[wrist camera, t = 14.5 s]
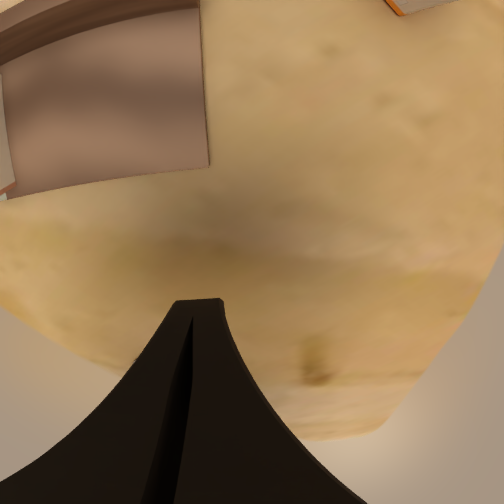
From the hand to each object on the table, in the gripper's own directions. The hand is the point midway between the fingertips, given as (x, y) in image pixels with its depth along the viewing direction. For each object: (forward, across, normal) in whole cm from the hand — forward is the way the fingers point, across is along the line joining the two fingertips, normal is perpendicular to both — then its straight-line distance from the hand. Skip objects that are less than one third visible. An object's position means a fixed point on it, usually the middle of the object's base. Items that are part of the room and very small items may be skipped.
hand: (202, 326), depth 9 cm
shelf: (+10, +11, -7) cm, 16 cm away
